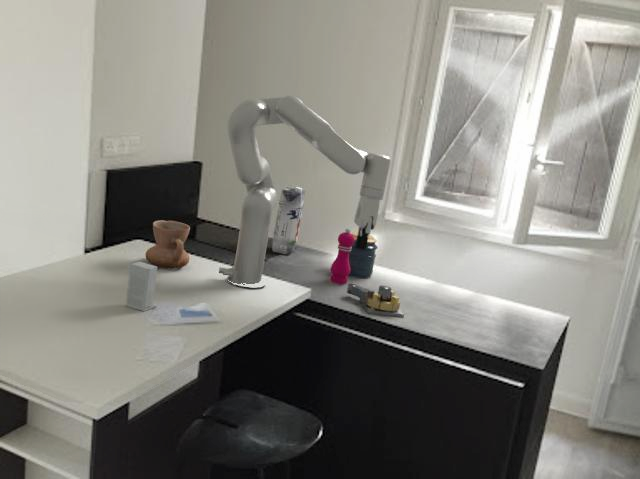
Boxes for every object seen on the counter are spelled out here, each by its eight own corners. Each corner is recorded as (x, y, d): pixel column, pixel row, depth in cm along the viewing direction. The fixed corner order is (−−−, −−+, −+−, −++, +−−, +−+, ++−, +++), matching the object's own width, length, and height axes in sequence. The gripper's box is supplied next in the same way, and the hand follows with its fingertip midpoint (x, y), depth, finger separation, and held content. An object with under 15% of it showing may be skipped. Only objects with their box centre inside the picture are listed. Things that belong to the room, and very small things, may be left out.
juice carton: (269, 251, 277) (280, 185, 272) (275, 246, 287) (286, 183, 282) (291, 256, 276) (302, 190, 270) (296, 251, 286) (307, 187, 281)
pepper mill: (346, 286, 247) (356, 232, 243) (326, 281, 249) (336, 227, 245) (349, 281, 254) (359, 229, 250) (330, 277, 256) (340, 224, 252)
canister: (377, 276, 270) (386, 232, 267) (361, 280, 259) (370, 235, 256) (349, 266, 277) (357, 224, 273) (332, 270, 266) (341, 226, 262)
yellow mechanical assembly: (338, 293, 231) (340, 281, 230) (356, 289, 240) (358, 278, 239) (387, 312, 220) (389, 299, 219) (404, 307, 229) (406, 295, 228)
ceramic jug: (137, 257, 236) (142, 217, 232) (178, 258, 243) (183, 219, 240) (154, 274, 221) (159, 232, 218) (196, 274, 229) (202, 233, 226)
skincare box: (152, 308, 190) (158, 266, 187) (144, 311, 186) (149, 269, 183) (133, 302, 192) (139, 261, 189) (124, 306, 188) (130, 263, 185)
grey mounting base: (367, 313, 221) (372, 290, 219) (359, 301, 232) (363, 279, 231) (403, 317, 223) (408, 295, 222) (393, 305, 235) (397, 284, 233)
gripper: (355, 186, 226) (344, 240, 230) (366, 195, 212) (354, 252, 216) (377, 190, 228) (365, 244, 232) (389, 198, 213) (377, 255, 217)
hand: (360, 247), depth 224 cm, fingers closed
